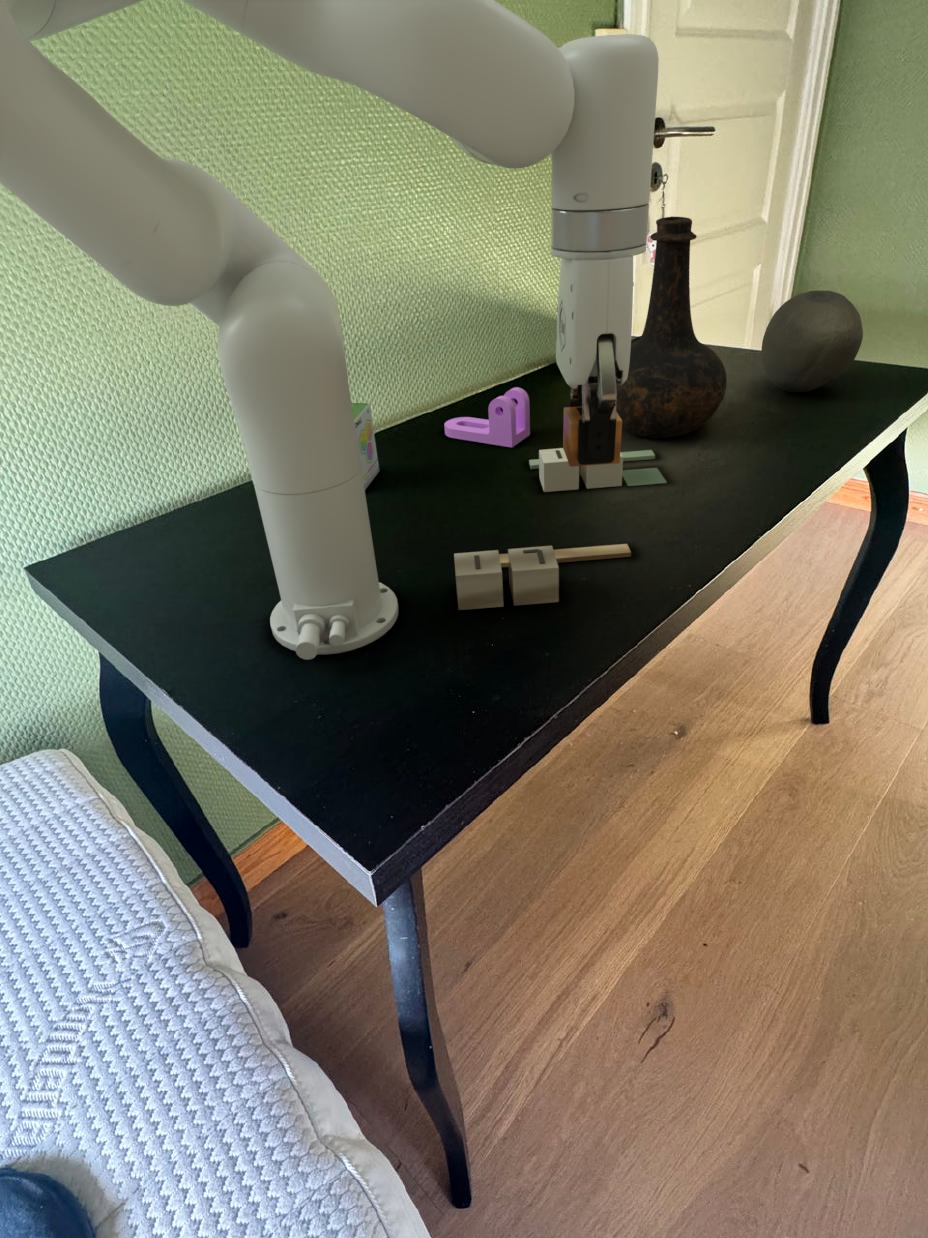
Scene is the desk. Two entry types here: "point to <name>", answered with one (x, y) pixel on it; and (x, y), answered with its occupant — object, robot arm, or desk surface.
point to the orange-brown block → (571, 436)
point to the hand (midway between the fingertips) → (590, 449)
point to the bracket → (496, 422)
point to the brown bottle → (670, 350)
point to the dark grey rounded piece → (811, 340)
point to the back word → (592, 471)
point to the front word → (520, 573)
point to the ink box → (365, 441)
